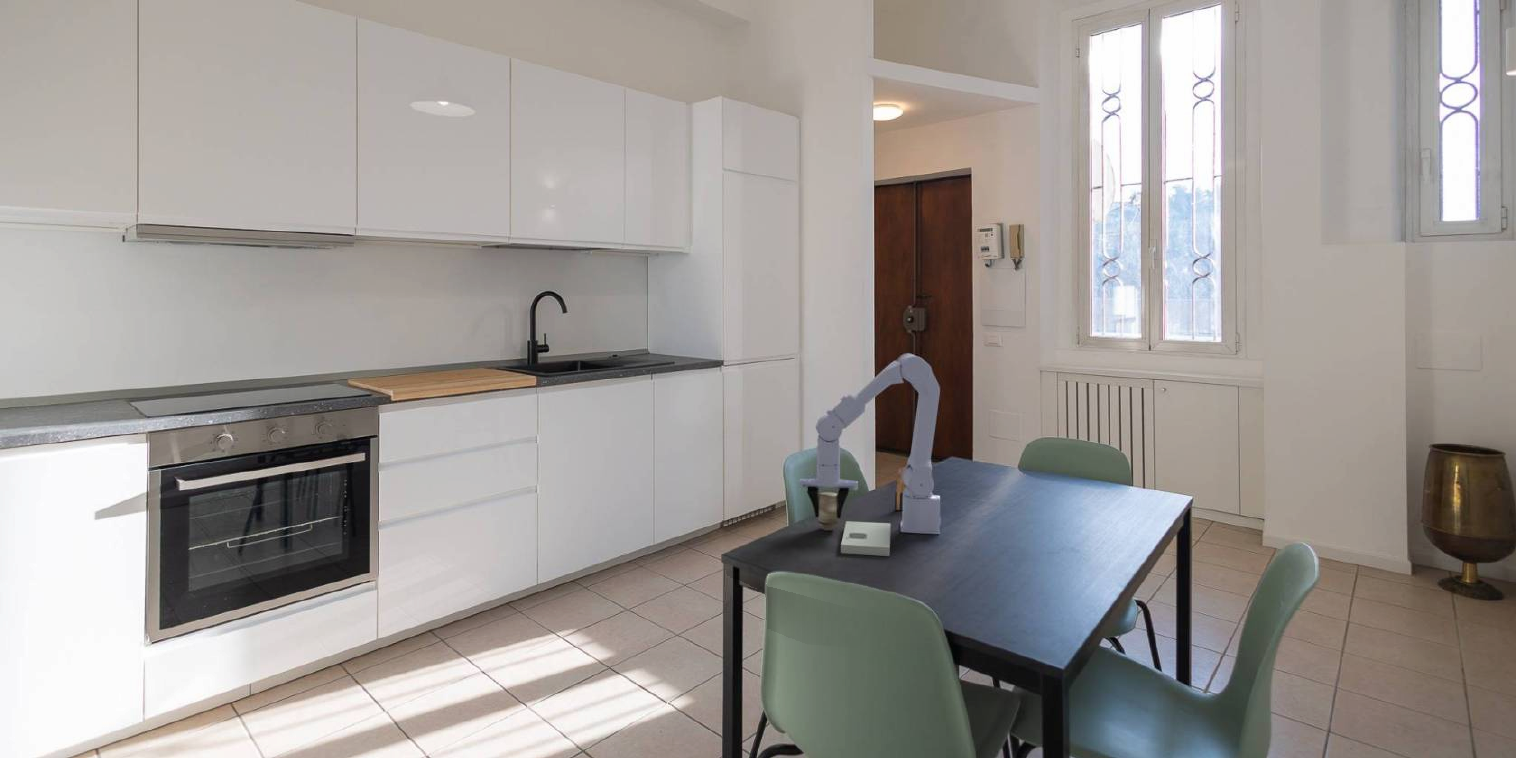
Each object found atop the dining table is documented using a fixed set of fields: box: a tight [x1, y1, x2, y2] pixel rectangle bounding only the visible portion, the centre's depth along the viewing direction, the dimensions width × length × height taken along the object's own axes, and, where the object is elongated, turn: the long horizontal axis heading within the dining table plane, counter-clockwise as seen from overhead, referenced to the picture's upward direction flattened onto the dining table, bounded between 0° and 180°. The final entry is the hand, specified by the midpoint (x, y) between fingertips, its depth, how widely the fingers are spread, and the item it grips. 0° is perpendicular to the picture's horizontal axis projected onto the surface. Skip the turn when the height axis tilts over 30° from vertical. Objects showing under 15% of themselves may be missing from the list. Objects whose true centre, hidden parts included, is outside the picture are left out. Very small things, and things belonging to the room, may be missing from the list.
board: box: [840, 520, 891, 557], centre depth 180 cm, size 11×18×2 cm, turn 169°
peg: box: [817, 491, 839, 531], centre depth 189 cm, size 5×5×9 cm
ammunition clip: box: [894, 464, 907, 512], centre depth 209 cm, size 11×2×12 cm, turn 138°
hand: (828, 516), depth 190 cm, fingers closed on peg, 5 cm apart
